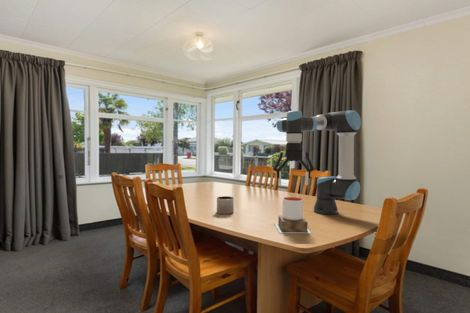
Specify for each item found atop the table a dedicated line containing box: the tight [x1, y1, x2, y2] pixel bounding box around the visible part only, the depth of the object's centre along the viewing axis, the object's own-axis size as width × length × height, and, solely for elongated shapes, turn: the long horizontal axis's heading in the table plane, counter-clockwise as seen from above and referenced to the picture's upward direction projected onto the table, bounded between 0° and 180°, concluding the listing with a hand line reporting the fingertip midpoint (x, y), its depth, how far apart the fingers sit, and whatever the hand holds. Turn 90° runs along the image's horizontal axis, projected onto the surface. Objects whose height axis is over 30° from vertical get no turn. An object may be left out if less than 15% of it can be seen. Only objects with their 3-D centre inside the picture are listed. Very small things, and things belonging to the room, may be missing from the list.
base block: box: [277, 215, 308, 232], centre depth 138 cm, size 12×12×5 cm
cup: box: [282, 196, 304, 221], centre depth 138 cm, size 10×10×10 cm
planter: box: [216, 195, 235, 215], centre depth 176 cm, size 11×11×10 cm
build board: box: [273, 223, 313, 235], centre depth 138 cm, size 16×16×2 cm
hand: (293, 184), depth 137 cm, fingers open, 13 cm apart
